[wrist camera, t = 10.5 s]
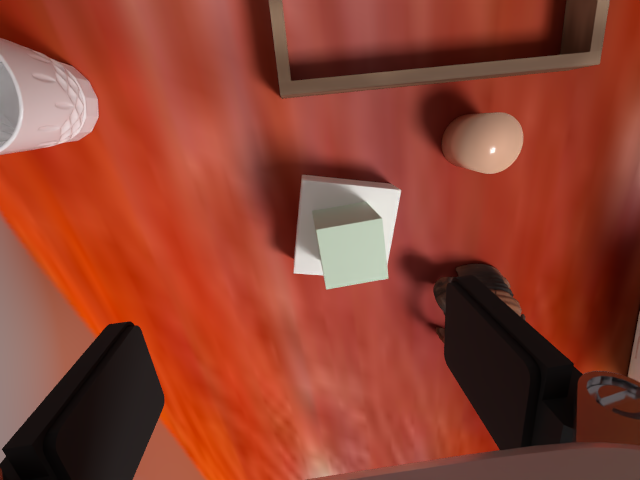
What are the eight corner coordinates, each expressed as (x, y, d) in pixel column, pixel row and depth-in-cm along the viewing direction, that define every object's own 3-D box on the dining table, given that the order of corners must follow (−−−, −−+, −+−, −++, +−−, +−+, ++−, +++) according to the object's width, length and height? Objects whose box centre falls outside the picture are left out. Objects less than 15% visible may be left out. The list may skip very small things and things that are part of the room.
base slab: (301, 173, 34) (302, 180, 30) (389, 182, 35) (401, 190, 31) (294, 257, 37) (293, 273, 33) (375, 264, 38) (384, 279, 34)
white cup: (85, 164, 32) (-3, 182, 22) (-3, 114, 30) (-139, 110, 21) (121, 89, 30) (41, 73, 21) (30, 30, 28) (-104, -16, 19)
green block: (311, 210, 31) (316, 229, 25) (365, 201, 31) (382, 218, 25) (320, 261, 33) (326, 289, 27) (371, 251, 33) (388, 278, 27)
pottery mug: (521, 276, 39) (554, 344, 34) (454, 309, 45) (473, 372, 40) (457, 236, 34) (484, 310, 29) (389, 280, 40) (401, 348, 34)
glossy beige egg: (442, 116, 33) (466, 115, 28) (492, 111, 33) (526, 109, 28) (440, 169, 34) (464, 176, 30) (489, 164, 34) (520, 170, 30)
